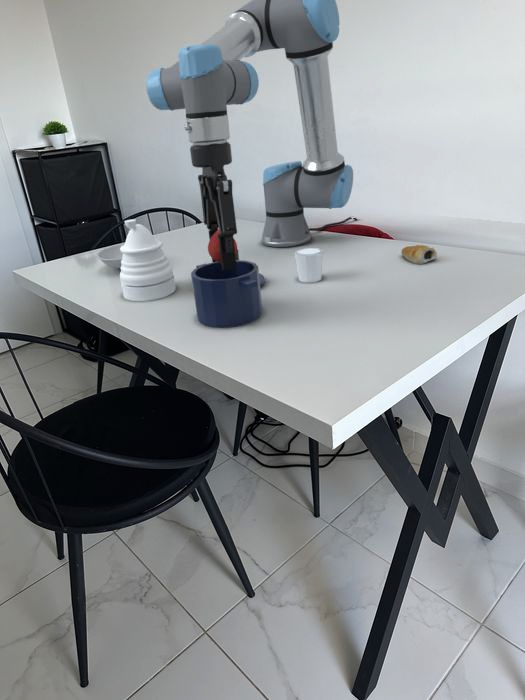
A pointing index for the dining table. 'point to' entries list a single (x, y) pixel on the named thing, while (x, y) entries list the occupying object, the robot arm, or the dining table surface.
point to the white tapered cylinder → (309, 264)
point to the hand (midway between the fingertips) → (224, 264)
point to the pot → (227, 294)
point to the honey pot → (144, 266)
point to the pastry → (419, 254)
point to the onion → (217, 247)
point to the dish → (111, 256)
